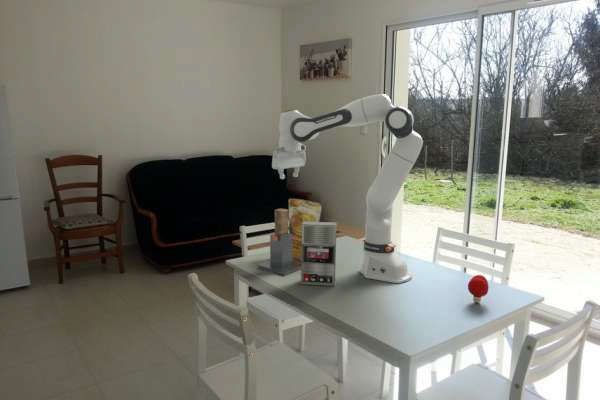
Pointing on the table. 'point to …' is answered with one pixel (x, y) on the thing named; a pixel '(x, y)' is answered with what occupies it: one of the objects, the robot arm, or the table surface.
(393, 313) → the table surface
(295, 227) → the pancake mix bag
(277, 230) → the post
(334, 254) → the cassette tape recorder
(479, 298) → the light bulb
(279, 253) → the stand
